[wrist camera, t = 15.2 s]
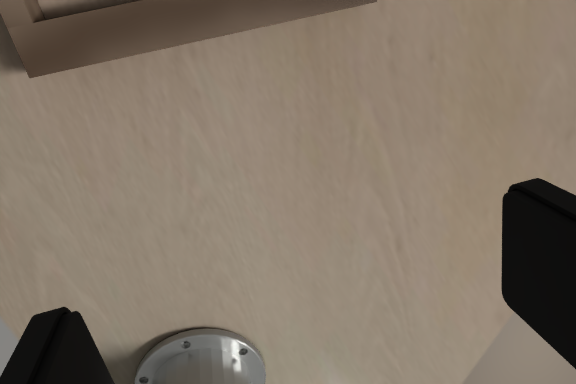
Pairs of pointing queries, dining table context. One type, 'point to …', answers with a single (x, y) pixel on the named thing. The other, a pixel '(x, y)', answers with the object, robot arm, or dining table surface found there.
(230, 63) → the dining table surface
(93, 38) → the keyhole board
